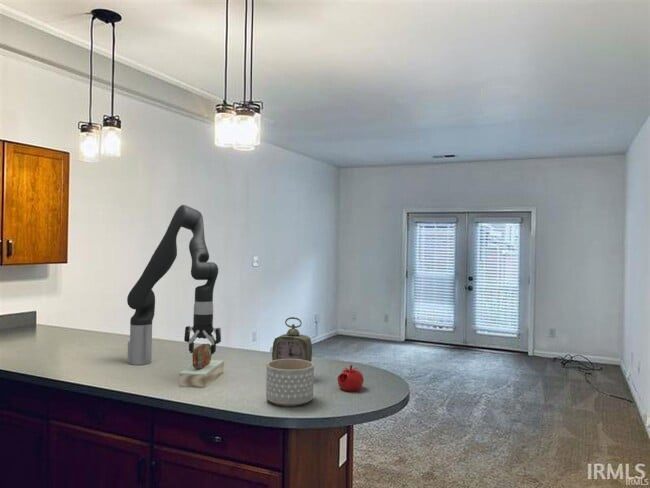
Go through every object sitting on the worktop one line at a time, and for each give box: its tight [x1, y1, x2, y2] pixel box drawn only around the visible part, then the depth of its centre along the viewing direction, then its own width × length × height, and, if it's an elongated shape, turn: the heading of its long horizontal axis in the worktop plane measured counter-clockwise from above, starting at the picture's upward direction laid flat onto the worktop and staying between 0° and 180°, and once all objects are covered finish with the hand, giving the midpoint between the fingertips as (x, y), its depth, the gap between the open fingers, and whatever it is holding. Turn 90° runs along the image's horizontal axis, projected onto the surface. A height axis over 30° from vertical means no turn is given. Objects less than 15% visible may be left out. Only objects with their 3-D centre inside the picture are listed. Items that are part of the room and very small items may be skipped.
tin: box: [191, 343, 212, 369], centre depth 201 cm, size 15×3×8 cm, turn 173°
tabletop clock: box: [271, 316, 313, 362], centre depth 204 cm, size 14×9×25 cm, turn 75°
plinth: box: [178, 359, 225, 388], centre depth 201 cm, size 10×22×5 cm, turn 173°
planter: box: [265, 359, 315, 407], centre depth 177 cm, size 16×16×13 cm
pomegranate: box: [337, 364, 364, 392], centre depth 192 cm, size 10×10×9 cm
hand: (202, 353), depth 201 cm, fingers open, 8 cm apart
